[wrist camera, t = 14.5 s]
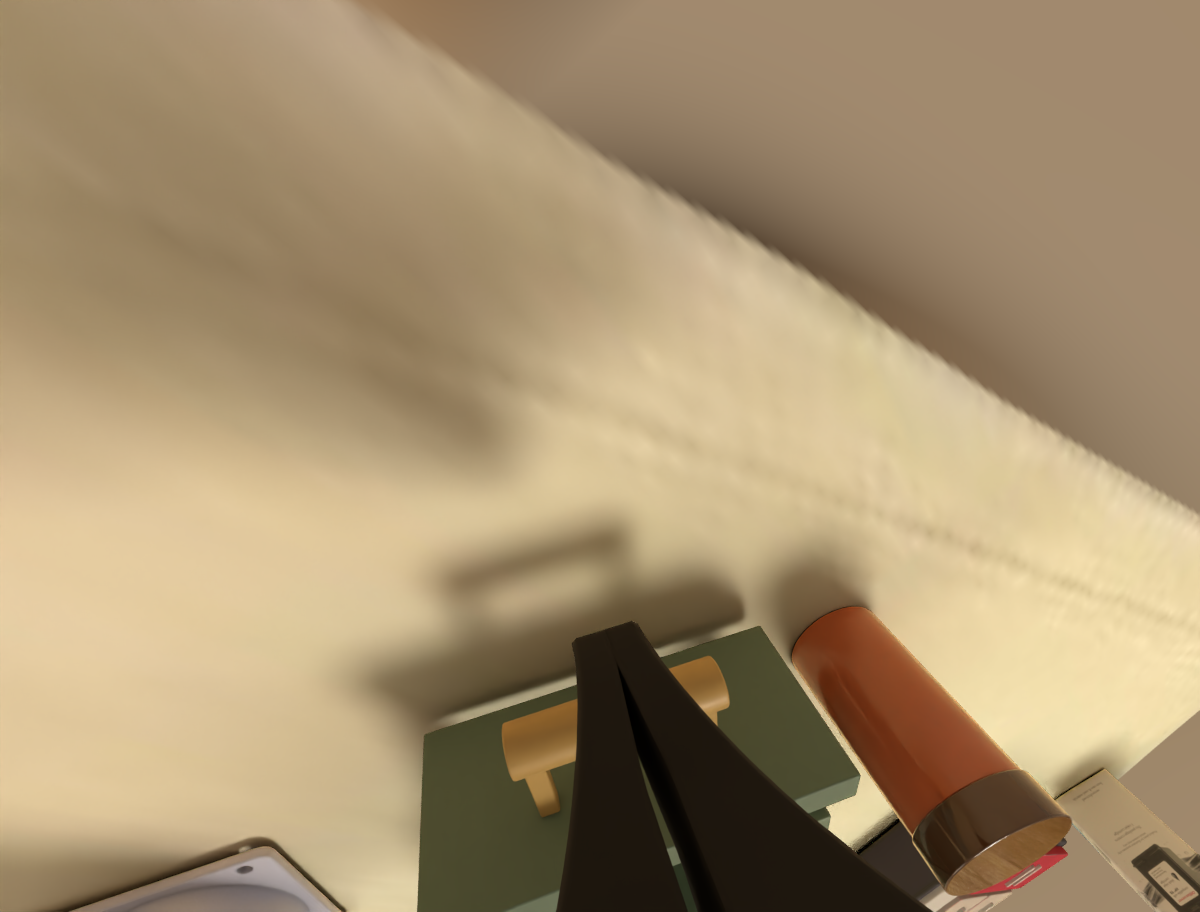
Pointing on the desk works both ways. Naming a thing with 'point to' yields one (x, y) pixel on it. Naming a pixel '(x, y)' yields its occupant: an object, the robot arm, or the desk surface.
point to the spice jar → (927, 755)
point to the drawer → (547, 764)
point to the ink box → (1135, 843)
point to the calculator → (915, 877)
